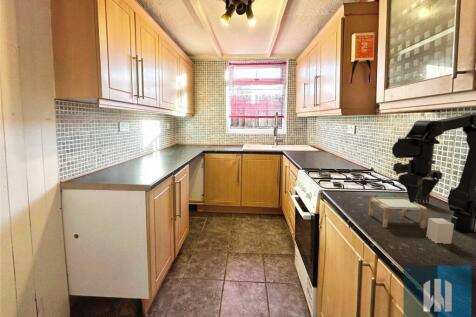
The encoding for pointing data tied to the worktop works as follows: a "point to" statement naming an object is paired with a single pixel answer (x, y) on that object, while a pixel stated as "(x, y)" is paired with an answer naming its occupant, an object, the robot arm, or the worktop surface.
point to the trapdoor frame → (386, 210)
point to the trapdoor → (399, 204)
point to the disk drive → (385, 196)
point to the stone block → (440, 230)
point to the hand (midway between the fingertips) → (418, 200)
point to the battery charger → (420, 198)
